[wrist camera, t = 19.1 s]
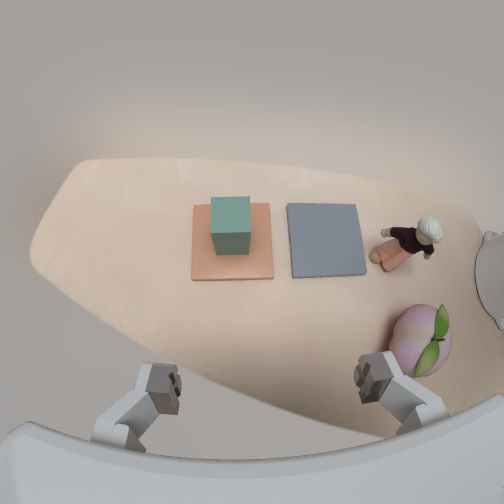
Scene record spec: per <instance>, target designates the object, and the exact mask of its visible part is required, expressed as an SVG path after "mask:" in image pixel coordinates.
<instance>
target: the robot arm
mask: <svg viewBox="0 0 504 504" xmlns="http://www.w3.org/2000/svg"><path fill="white" fill-rule="evenodd" d="M475 275H476V284H477V289H478V293H479V296H480V299H481V302H482V304H483V306H484V308H485V309H486V311H487V312H488V313H489V314H490V315H491V316H492V317H493V318H494V319H495V320H496V323H497V325H498V327H499V329H500V330H504V232H503V233H501V234H497V233H495V232H492V231H487V232H485V234H484V240H483V245H482V247H481V248H480V250H479V252H478V255H477V259H476V267H475ZM358 361H359V365H357V366H356V368H355V371H354V380H355V384H356V386H358V387H359V388H360V391H359V395H360V398H361V401H362V404H365V403H370V402H376V401H378V402H379V403H380V404H381V405H382V406H384V407H385V408H386V409H387V410H388V411H389V412H390V413H391V414H392V415H393V416H395V417H396V418H397V419H398V420H399V421H400V422H401V423H402V425H401V426H400V427H399V429H398V430H397V431H396V435H397V436H395V437H391V438H388V439H384V440H381V441H377V442H374V443H369V444H365V445H361V446H356V447H352V448H347V449H342V450H336V451H331V452H325V453H319V454H312V455H304V456H296V457H285V458H273V459H254V460H214V459H194V458H182V457H172V456H164V455H156V454H149V453H146V449H145V447H144V446H143V445H142V444H141V443H140V441H139V440H138V439H139V438H140V436H141V435H142V434H143V433H144V432H145V431H146V430H147V429H148V427H149V426H150V425H151V424H152V423H153V422H154V421H155V419H156V418H157V417H158V416H159V414H173V415H177V414H178V409H179V401H178V397H179V396H180V395H181V378H180V375H178V374H177V372H178V369H177V366H176V365H173V364H161V363H150V362H143V363H142V364H141V367H140V370H139V374H138V378H137V381H136V384H135V387H134V390H130V391H129V392H128V393H127V394H126V395H124V396H123V397H122V398H121V399H120V400H118V401H117V402H116V403H115V404H114V405H113V406H111V407H110V408H109V409H108V410H107V411H105V412H104V413H103V414H102V415H101V416H99V417H98V418H97V421H96V424H95V427H94V430H93V433H92V437H91V440H90V441H88V440H84V439H81V438H78V437H74V436H71V435H68V434H65V433H62V432H59V431H56V430H53V429H51V428H48V427H45V426H43V425H40V424H38V423H35V422H32V421H27V422H24V423H22V424H21V425H19V426H17V427H16V428H14V429H13V430H11V431H10V432H8V433H7V434H6V435H5V437H4V438H3V439H2V441H1V443H0V504H504V395H502V394H495V395H493V396H491V397H489V398H487V399H486V400H484V401H482V402H480V403H478V404H476V405H474V406H472V407H470V408H468V409H466V410H463V411H461V412H459V413H457V414H455V415H452V416H449V414H448V412H447V410H446V407H445V405H444V403H443V401H442V399H441V397H439V396H438V395H436V394H435V393H433V392H432V391H430V390H428V389H427V388H425V387H424V386H422V385H421V384H419V383H418V382H416V381H415V380H413V379H412V378H410V377H409V376H407V375H403V373H402V371H401V369H400V367H399V365H398V363H397V361H396V359H395V357H394V355H393V353H392V352H391V351H385V352H378V353H372V354H366V355H361V356H360V357H359V360H358Z"/></svg>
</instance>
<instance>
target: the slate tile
mask: <svg viewBox="0 0 504 504" xmlns="http://www.w3.org/2000/svg"><path fill="white" fill-rule="evenodd" d="M286 208H287V218H288V229H289V241H290V253H291V265H292V278H311V277H332V276H352V275H365V274H366V273H367V269H366V262H365V255H364V248H363V242H362V236H361V230H360V225H359V219H358V214H357V209H356V204H317V203H287V206H286Z"/></svg>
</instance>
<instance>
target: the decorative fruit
mask: <svg viewBox="0 0 504 504" xmlns="http://www.w3.org/2000/svg"><path fill="white" fill-rule="evenodd" d="M451 343H452V331H451V327H450V324H449V316H448V313H447V310H446V308H445V307H444V305H443V304H442V305H441V306H440V308H439V310H438V309H436V308H434V307H432V306H429V305H423V304H417V305H413V306H411V307H409V308H408V309H406V310H405V311H404V312H403V313H402V315H401V316H400V318H399V319H398V321H397V323H396V324H395V327H394V330H393V337H392V339H391V341H390V343H389V351H391V352H392V353H393V355H394V357H395V359H396V361H397V363H398V365H399V367H400V369H401V371H402V373H403V375H407V376H409V377H414V378H417V377H425V376H429V375H431V374H433V373H435V372H436V371H437V370H438V369H439V368H440V367H441V366H442V365H443V364H444V362H445V361H446V359H447V357H448V354H449V352H450V348H451Z"/></svg>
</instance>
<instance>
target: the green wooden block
mask: <svg viewBox="0 0 504 504" xmlns="http://www.w3.org/2000/svg"><path fill="white" fill-rule="evenodd" d="M211 237H212V241H213V244H214V248H215V252H216V255H249V248H250V239H251V216H250V196H247V197H211Z"/></svg>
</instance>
